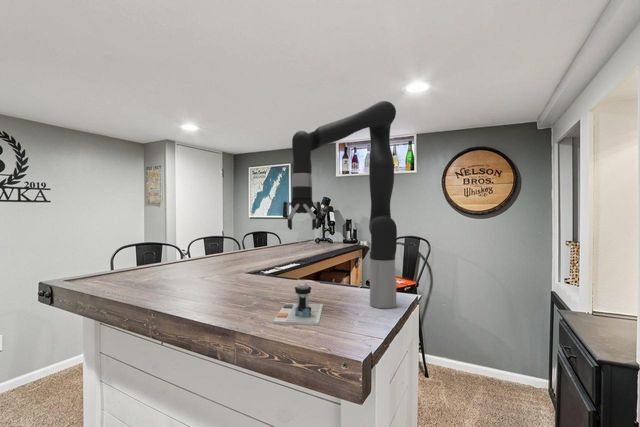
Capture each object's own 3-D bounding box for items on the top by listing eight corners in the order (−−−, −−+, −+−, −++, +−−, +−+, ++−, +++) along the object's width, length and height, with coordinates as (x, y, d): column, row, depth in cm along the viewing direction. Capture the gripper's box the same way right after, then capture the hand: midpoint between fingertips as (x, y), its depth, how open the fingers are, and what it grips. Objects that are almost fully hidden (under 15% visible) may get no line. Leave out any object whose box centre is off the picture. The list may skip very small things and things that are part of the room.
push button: (317, 314, 100) (317, 284, 100) (311, 319, 95) (311, 287, 95) (298, 312, 103) (298, 282, 103) (291, 317, 98) (291, 285, 98)
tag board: (322, 306, 114) (322, 302, 114) (318, 325, 94) (318, 320, 94) (285, 305, 115) (285, 301, 115) (273, 323, 95) (273, 319, 95)
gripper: (321, 187, 119) (321, 229, 119) (285, 187, 120) (285, 229, 120) (320, 185, 111) (320, 230, 111) (281, 185, 112) (281, 229, 112)
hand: (302, 229), depth 115 cm, fingers open, 8 cm apart
